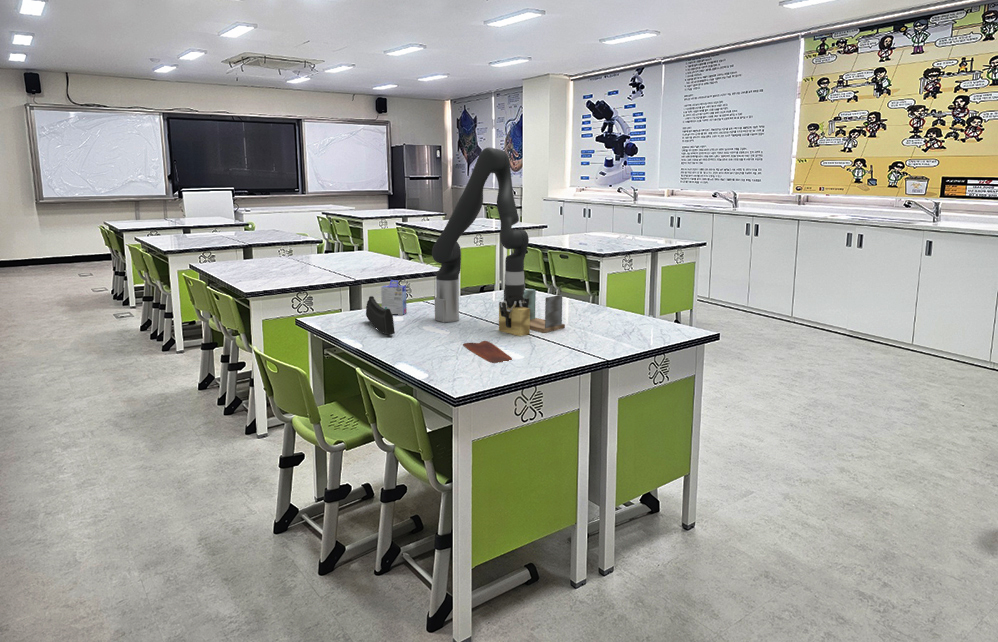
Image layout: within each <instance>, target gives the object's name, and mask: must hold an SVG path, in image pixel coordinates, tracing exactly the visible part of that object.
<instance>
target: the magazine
mask: <svg viewBox="0 0 998 642" xmlns="http://www.w3.org/2000/svg"><path fill="white" fill-rule="evenodd" d="M365 316H366V318H367V320H368V321H369V322H370V324H371V325H372V326H373V327H375V328H377V329H378V330H379V331H380V332H379V331H378V330H377V329H376V330H377V331H378V332H379V333H381V332H382V333H381V334H385V335H389V336H390V335H395V322H394V315H392V313H391V311H390V309H384V308H382V305H380V304H379V303H378V302H377V301H376V299H375V296H373V295H370V296H369V297H368V300H367V302H366V307H365ZM375 328H374V329H375Z"/></svg>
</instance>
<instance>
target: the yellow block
mask: <svg viewBox="0 0 998 642" xmlns="http://www.w3.org/2000/svg"><path fill="white" fill-rule="evenodd" d="M506 305H507V304H506ZM507 309H508V310H511V308H508V307H507ZM508 315H509V312H508ZM498 331H499V332H503V333H507V334H510V335H514V336H518V337H523V336H528V335H530V333H531V331H530V308H525V307H516V308H513V311H512V316H511V328H508V327H506V318H505V317H503V316H501V312H500V306H499V305H498Z"/></svg>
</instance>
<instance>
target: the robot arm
mask: <svg viewBox="0 0 998 642" xmlns="http://www.w3.org/2000/svg"><path fill="white" fill-rule="evenodd" d="M490 174H494V176H495V178H496V180H497V185H498V191H497V198H496V210H497V213H498V217H499V221H500V243H501V245H502V247H503V248H504V249H506V250H513V252H512V253H511V254H509V255H507V256H506V257H505V261H504V262H505V264H504V267H505V271H504V289H505V295H506V298H505V301H504V300H503V301H499V303H498V307H499V306H500V312H501V316H503V317H505V318H506V327H508V328H511V316H512V311H513V308H516V307H525V308H528V304H529V299H528V298H523V295H524V288H525V257H526V255H527V252H528V251H527V250H528V247H529V241H530V237H529V235H528V232H527V231H526V230H525V229H513V228H512V227H513V225H516V224H517V223H519V221H520V218H519V213H518V210H517V209H518V208H517V205H516V202H515V197H514V191H513V182H512V171H511V161H510V157H509V155H508V153H507V152H506V151H504V150H503V149H499V148H494V147H490V146H489V147H486V148H484V149H482V150H481V152H480V153H479V155H478V156H477V160H476V162H475V164H474V168H473V170H472V173H471V174H470V177H469V180H468V181H467V184H466V186H465V188H464V190H463V192H462V193H461V195H460V197H459V199H458V201H457V203H456V205H455V207H454V209H453V212H452V213H451V215H450V217H449V219H448V221H447V222H446V225H445V227H444V228H443V231H442V232H441V233H440V235H439V236H438V238H437V239H436V241H435V243H434V244H433V246H432V250H431V255H432V260H434V262H436V263H438V264H441V265H440V267H439V270H437V272H436V273H435V274H436V275H435V279H436V281H435V283H436V284H435V285H436V286H435V287H436V297H434V320H435V321H438V322H441V323H452V322H454V323H455V322H458V321H459V320H460V299H459V298H460V297H459V295H460V291H459V290H460V289H459V288H460V287H459V285H460V283H459V280H460V278H459V277H460V276H459V275H460V273H461V269H462V267H461V266H462V263H461V262H462V249H461V246H460V244H459V242H458V240H459V239H460V237H461V236H462V234H464V233H465V231H467V230H468V229H469V228H470V226H471V225H472V224H473V223H474V222H475V220H476V219H477V217H478V215H479V213H480V212H481V209H482V207H483V203H484V188H485V183H486V182H487V180H488V178H489V177H490ZM506 304H507V305H506ZM507 307H508V308H511V310H508V309H507ZM508 312H509V315H508Z"/></svg>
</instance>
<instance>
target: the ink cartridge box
mask: <svg viewBox="0 0 998 642" xmlns="http://www.w3.org/2000/svg"><path fill="white" fill-rule="evenodd" d="M394 282H395V283H394ZM380 292H381V293H380V294H381V296H380V298H381V301H380V302H381V307H382V308H384V309H390V311H391V313H392V314H398V315H397V316H403V314H404V315H406V314H407V312H408V311H407V285H399V280H396V279H390V282H389V285H387V284H386V285H383V286H381V287H380ZM405 313H406V314H405Z"/></svg>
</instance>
